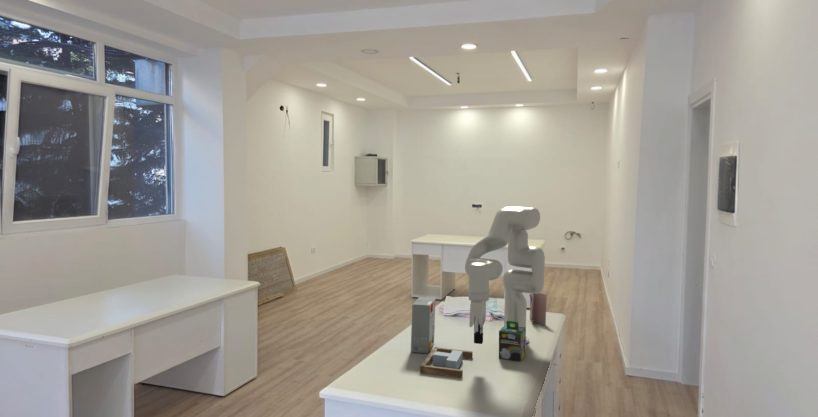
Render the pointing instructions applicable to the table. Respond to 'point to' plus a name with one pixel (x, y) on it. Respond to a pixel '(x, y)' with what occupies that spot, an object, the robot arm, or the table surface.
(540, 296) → the greeting card
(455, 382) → the table surface
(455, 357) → the tee block
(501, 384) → the table surface
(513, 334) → the chalk box
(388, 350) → the table surface
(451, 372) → the walnut bay
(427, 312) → the hard drive box
